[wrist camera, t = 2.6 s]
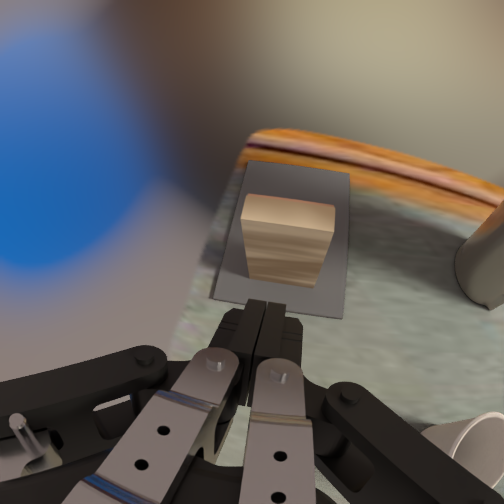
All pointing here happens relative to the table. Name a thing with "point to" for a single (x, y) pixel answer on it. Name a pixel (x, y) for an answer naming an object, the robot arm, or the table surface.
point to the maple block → (286, 238)
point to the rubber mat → (335, 263)
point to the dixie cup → (473, 444)
